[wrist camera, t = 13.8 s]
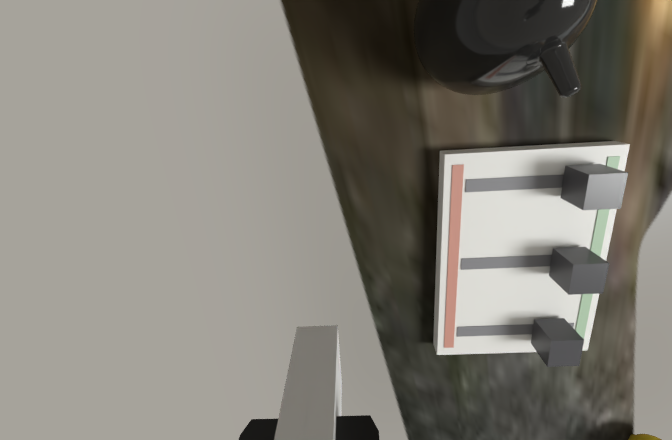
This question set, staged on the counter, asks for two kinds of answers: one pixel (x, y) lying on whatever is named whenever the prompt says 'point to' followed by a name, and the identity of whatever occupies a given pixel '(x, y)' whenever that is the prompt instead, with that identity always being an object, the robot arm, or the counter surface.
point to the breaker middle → (578, 270)
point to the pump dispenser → (500, 42)
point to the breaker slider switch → (557, 342)
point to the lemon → (642, 437)
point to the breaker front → (593, 186)
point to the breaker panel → (512, 244)
